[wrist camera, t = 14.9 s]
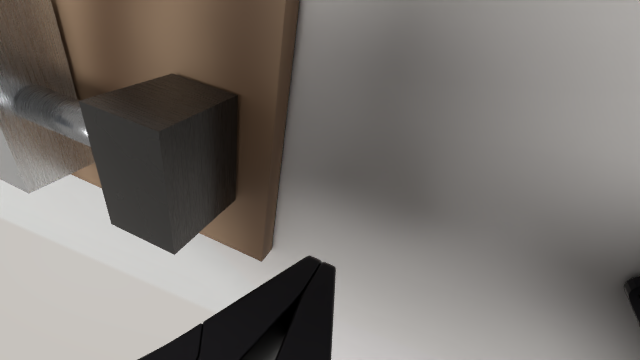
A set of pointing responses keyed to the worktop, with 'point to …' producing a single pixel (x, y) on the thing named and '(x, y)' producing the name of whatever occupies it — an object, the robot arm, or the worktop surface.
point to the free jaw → (114, 134)
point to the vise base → (202, 66)
